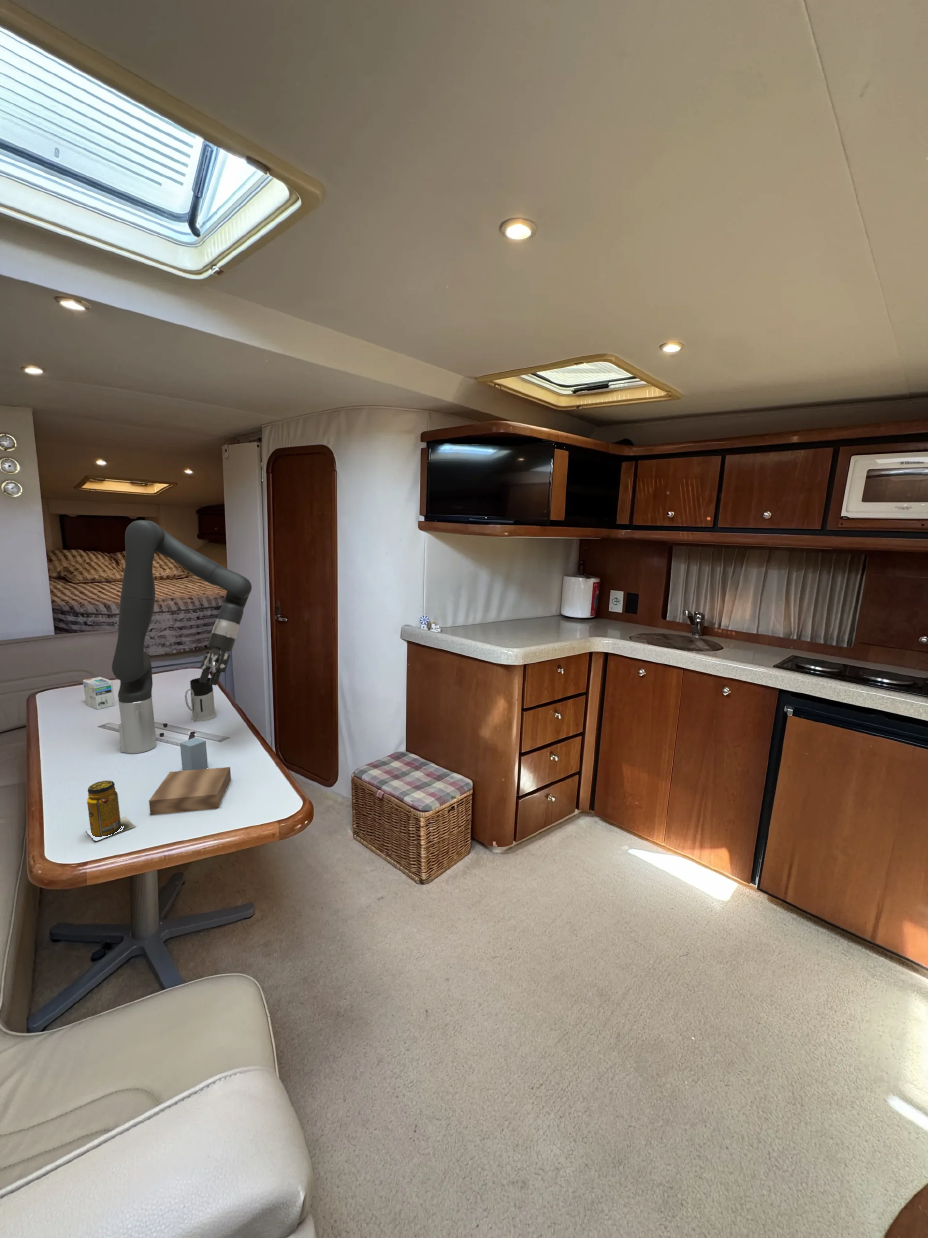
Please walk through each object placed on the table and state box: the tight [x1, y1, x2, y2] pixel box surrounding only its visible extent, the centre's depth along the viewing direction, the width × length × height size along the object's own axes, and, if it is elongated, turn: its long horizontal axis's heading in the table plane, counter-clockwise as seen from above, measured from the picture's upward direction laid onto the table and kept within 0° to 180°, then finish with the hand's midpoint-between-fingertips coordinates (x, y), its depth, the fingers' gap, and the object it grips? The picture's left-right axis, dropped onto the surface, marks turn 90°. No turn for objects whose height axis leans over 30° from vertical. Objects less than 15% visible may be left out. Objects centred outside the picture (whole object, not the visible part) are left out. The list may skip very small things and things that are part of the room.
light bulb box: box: [82, 676, 116, 710], centre depth 209 cm, size 11×7×11 cm, turn 58°
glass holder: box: [184, 677, 217, 722], centre depth 195 cm, size 9×14×15 cm, turn 174°
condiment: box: [86, 780, 136, 837], centre depth 124 cm, size 7×8×12 cm
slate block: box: [179, 736, 209, 771], centre depth 155 cm, size 5×5×9 cm
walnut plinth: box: [148, 766, 232, 816], centre depth 140 cm, size 16×16×4 cm
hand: (207, 683), depth 164 cm, fingers open, 8 cm apart
